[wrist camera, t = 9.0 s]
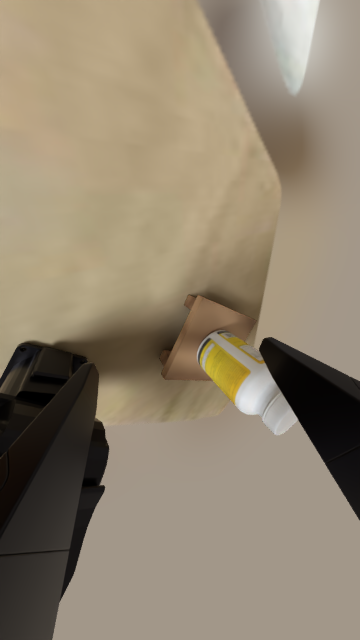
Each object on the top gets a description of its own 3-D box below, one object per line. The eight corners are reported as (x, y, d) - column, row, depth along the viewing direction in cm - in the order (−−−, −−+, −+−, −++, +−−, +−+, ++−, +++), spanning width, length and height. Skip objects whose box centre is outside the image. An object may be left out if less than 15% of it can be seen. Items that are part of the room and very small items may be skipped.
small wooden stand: (208, 366, 32) (222, 381, 29) (154, 361, 25) (164, 379, 22) (238, 311, 29) (256, 320, 26) (187, 289, 23) (203, 297, 19)
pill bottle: (193, 371, 24) (260, 455, 15) (195, 333, 21) (279, 408, 12) (227, 358, 27) (302, 422, 17) (233, 323, 24) (326, 377, 14)
